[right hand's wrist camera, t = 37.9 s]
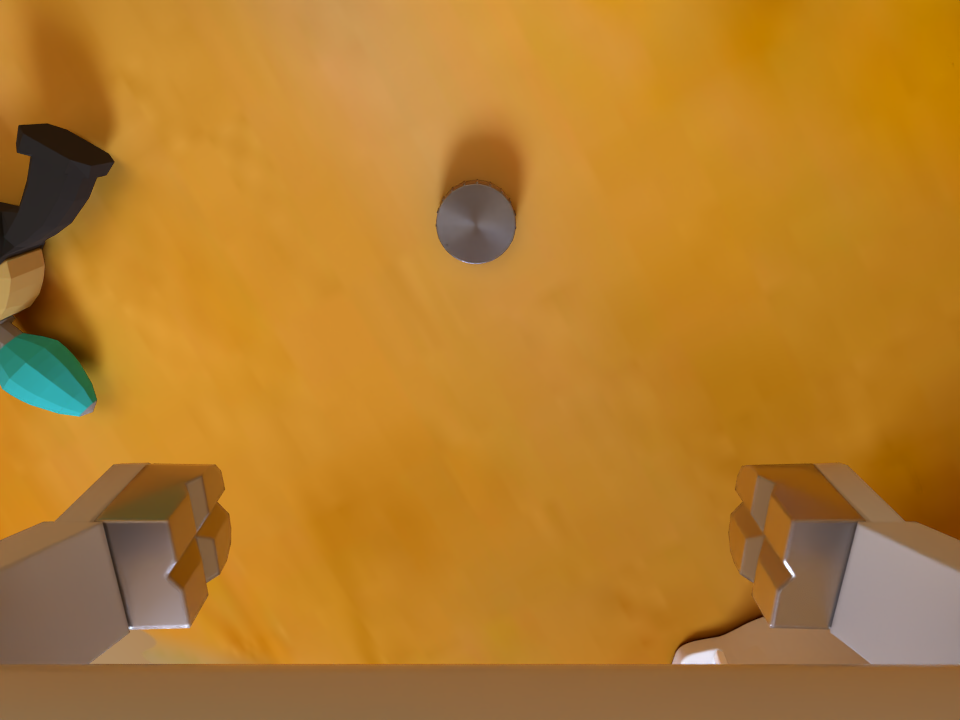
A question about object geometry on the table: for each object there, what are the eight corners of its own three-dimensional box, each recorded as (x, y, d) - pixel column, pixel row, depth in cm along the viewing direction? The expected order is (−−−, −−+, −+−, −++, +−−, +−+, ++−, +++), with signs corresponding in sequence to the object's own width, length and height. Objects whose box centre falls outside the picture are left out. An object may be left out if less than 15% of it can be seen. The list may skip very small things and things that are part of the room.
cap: (489, 163, 36) (489, 166, 34) (529, 232, 37) (531, 238, 35) (422, 205, 37) (419, 210, 35) (464, 271, 38) (463, 279, 36)
